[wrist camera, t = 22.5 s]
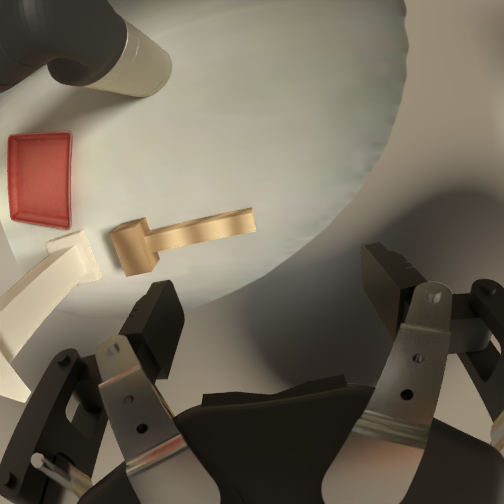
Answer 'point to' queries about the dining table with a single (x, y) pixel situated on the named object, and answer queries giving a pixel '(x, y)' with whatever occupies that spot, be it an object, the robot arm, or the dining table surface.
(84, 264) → the tall stand
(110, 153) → the dining table surface
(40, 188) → the plant saucer
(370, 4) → the dining table surface
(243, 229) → the beech mallet
